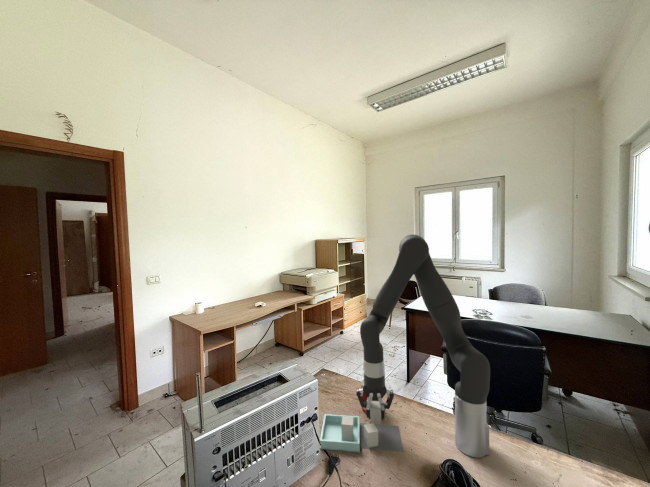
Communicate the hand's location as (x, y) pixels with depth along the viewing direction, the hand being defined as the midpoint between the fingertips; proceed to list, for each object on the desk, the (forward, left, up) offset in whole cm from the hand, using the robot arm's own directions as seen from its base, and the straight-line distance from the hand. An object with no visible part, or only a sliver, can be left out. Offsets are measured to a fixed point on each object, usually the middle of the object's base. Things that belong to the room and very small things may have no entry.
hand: (375, 418), depth 95 cm
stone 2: (0, 0, -1) cm, 1 cm away
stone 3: (+2, +6, -5) cm, 8 cm away
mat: (-1, +3, -5) cm, 6 cm away
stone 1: (+10, +5, -5) cm, 12 cm away
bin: (+13, +4, -5) cm, 14 cm away
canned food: (+1, -12, -5) cm, 14 cm away
